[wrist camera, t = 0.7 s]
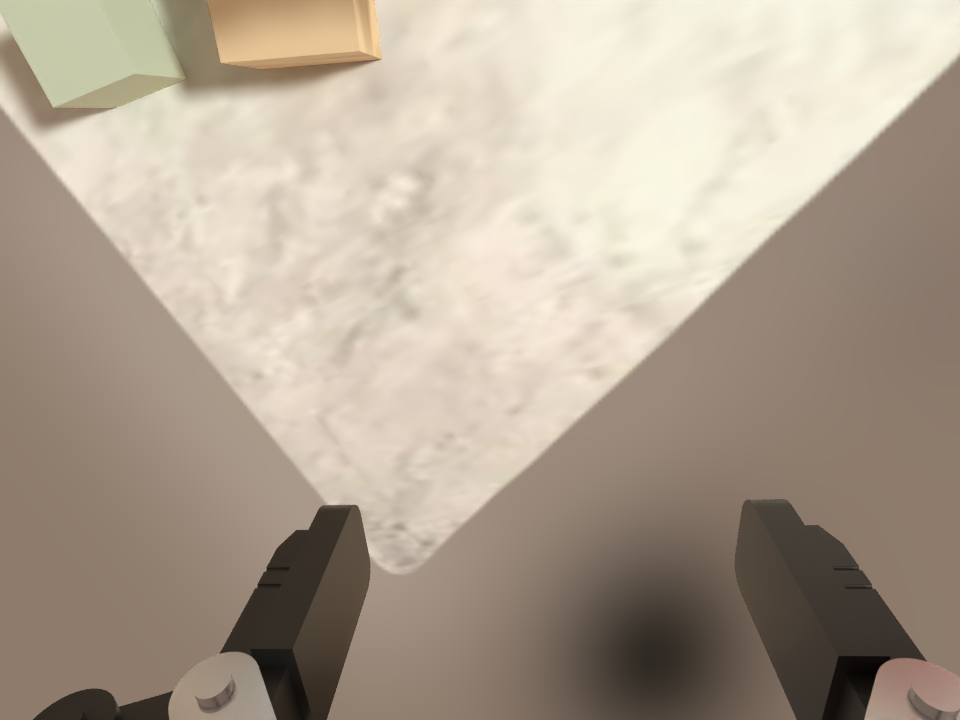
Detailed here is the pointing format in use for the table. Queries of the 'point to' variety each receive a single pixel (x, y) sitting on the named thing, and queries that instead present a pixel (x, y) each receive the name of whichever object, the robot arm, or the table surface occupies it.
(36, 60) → the sage cube
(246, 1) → the oak base block
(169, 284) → the table surface
